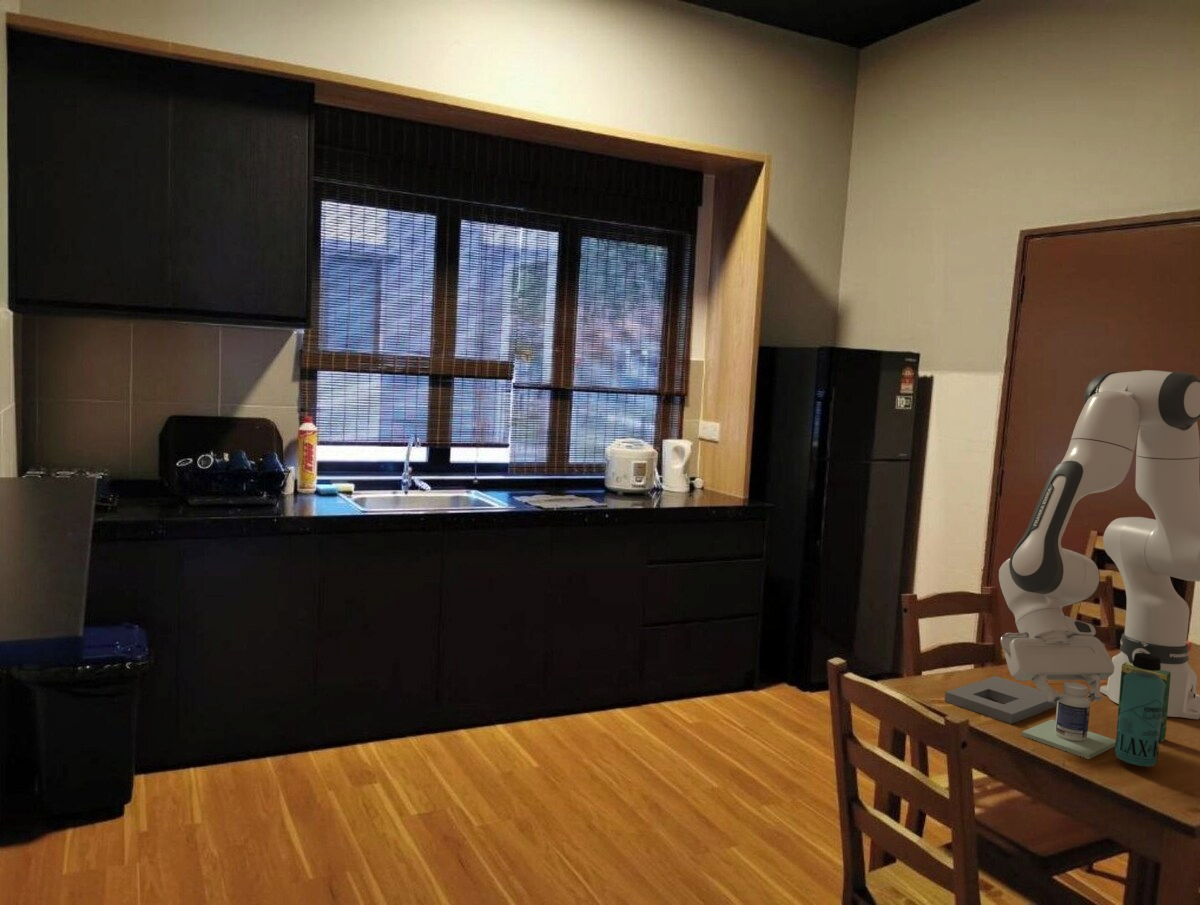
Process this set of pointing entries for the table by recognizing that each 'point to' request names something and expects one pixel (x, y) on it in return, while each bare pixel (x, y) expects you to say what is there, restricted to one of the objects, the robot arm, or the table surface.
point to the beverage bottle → (1141, 713)
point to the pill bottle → (1072, 712)
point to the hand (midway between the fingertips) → (1075, 700)
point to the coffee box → (1166, 678)
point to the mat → (1085, 748)
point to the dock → (1000, 699)
